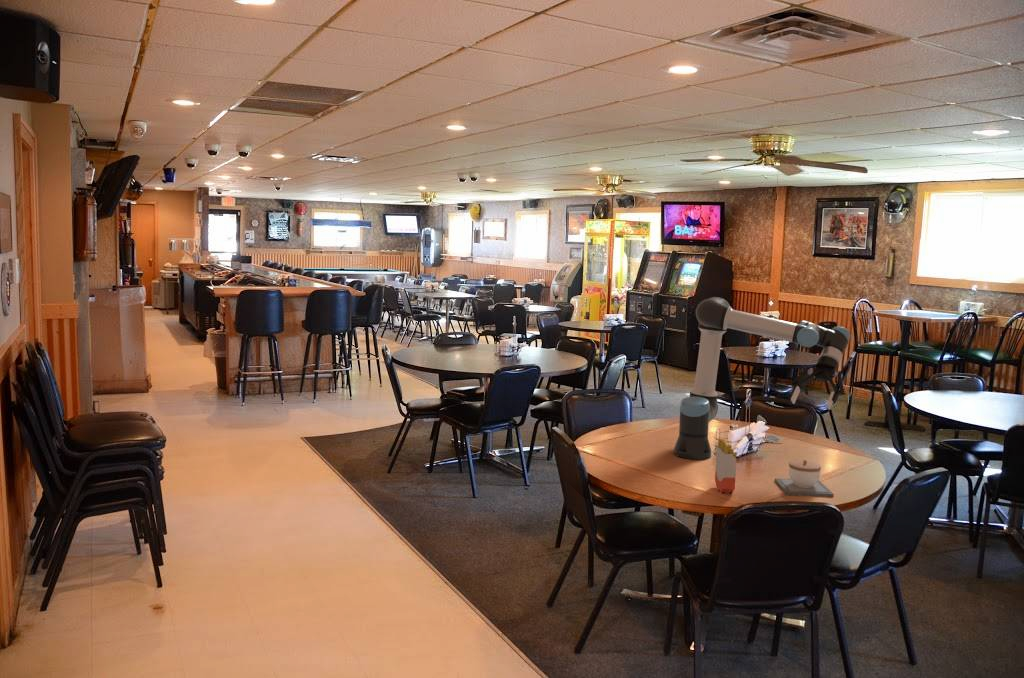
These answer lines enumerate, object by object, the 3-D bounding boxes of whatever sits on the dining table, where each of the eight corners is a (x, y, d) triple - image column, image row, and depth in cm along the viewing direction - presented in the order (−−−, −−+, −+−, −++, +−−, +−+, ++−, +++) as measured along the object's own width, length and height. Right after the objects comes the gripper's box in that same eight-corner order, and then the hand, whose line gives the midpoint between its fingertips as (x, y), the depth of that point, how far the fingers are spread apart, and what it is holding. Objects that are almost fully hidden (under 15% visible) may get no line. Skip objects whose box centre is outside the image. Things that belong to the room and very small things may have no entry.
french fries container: (727, 485, 280) (729, 437, 278) (735, 495, 269) (738, 445, 267) (714, 485, 280) (717, 437, 278) (722, 495, 269) (725, 444, 267)
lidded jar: (822, 491, 272) (824, 465, 271) (791, 489, 274) (793, 463, 273) (814, 481, 283) (816, 456, 282) (784, 480, 284) (786, 455, 283)
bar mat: (786, 494, 271) (786, 491, 271) (774, 480, 287) (774, 477, 287) (833, 496, 270) (833, 493, 270) (818, 482, 286) (818, 479, 286)
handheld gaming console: (783, 443, 342) (784, 421, 341) (762, 443, 343) (763, 421, 341) (775, 436, 355) (776, 415, 354) (754, 435, 356) (756, 414, 354)
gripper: (864, 371, 293) (845, 416, 284) (800, 363, 310) (780, 405, 301) (860, 359, 289) (841, 403, 280) (795, 351, 306) (775, 393, 297)
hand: (810, 404), depth 291 cm, fingers open, 13 cm apart
